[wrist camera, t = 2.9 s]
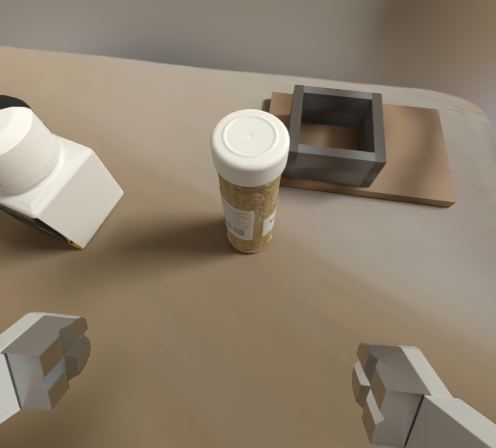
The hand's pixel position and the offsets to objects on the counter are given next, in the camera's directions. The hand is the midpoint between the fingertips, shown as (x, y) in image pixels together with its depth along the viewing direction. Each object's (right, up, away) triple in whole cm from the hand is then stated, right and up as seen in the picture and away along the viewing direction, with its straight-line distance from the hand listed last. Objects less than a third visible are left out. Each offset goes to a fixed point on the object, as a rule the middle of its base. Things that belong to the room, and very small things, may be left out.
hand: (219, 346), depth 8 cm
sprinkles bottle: (+1, +3, +20) cm, 20 cm away
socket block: (+13, +13, +24) cm, 30 cm away
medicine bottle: (-17, +5, +21) cm, 27 cm away
